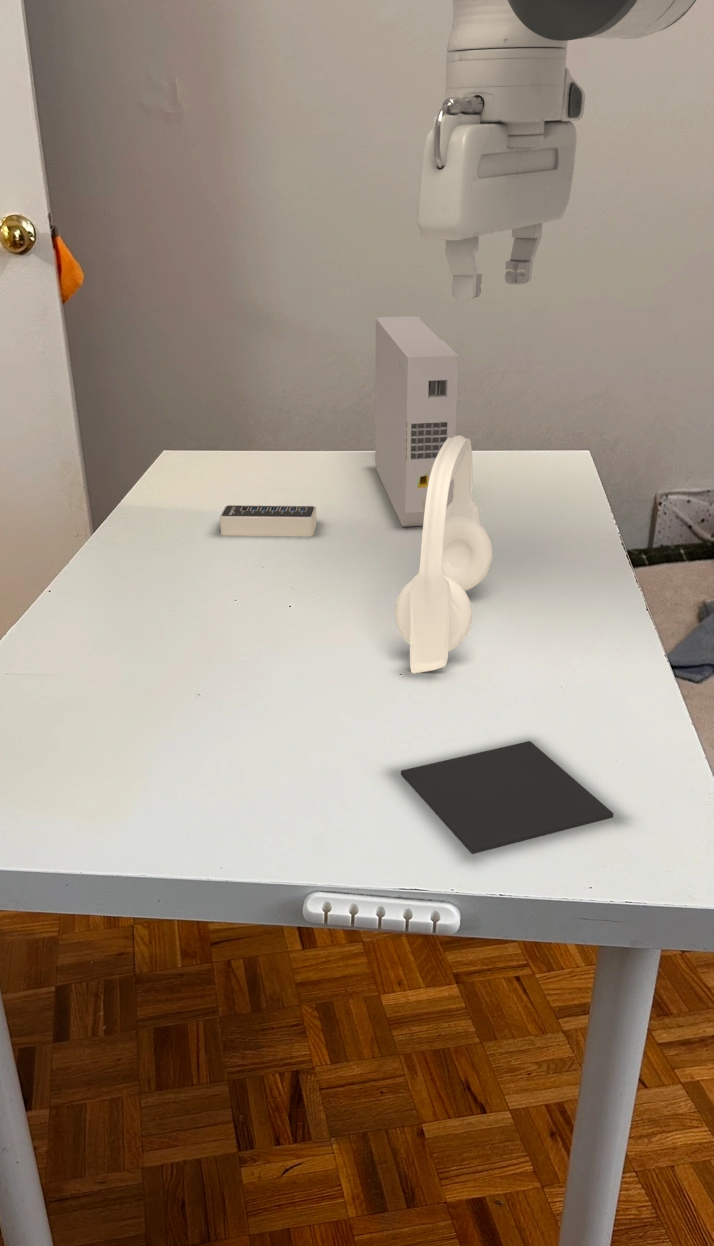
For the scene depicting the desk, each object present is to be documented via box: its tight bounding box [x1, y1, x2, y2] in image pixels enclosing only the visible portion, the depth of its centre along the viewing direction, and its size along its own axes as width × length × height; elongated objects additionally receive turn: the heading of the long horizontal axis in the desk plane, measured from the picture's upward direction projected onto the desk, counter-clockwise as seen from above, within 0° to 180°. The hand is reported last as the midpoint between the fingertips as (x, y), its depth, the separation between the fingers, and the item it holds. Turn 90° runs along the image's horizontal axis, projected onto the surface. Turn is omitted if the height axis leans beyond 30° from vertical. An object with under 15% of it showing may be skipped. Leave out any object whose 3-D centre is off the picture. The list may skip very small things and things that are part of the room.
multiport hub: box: [219, 504, 318, 537], centre depth 131 cm, size 4×11×2 cm, turn 84°
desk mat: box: [400, 740, 614, 855], centre depth 79 cm, size 11×11×1 cm
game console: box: [374, 315, 460, 528], centre depth 136 cm, size 6×27×20 cm, turn 4°
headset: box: [394, 434, 494, 674], centre depth 100 cm, size 20×7×18 cm, turn 165°
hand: (493, 290), depth 90 cm, fingers open, 8 cm apart
